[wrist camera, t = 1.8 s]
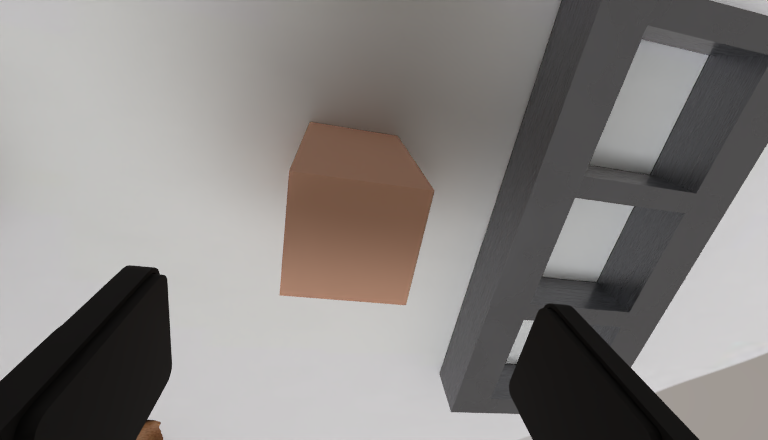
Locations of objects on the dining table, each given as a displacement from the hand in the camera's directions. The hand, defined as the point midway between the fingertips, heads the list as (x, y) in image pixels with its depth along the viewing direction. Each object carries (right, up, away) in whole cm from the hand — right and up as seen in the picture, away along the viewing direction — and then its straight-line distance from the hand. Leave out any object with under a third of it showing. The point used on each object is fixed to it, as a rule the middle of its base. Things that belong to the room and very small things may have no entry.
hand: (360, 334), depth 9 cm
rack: (+12, +2, +13) cm, 18 cm away
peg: (-1, +5, +10) cm, 11 cm away
